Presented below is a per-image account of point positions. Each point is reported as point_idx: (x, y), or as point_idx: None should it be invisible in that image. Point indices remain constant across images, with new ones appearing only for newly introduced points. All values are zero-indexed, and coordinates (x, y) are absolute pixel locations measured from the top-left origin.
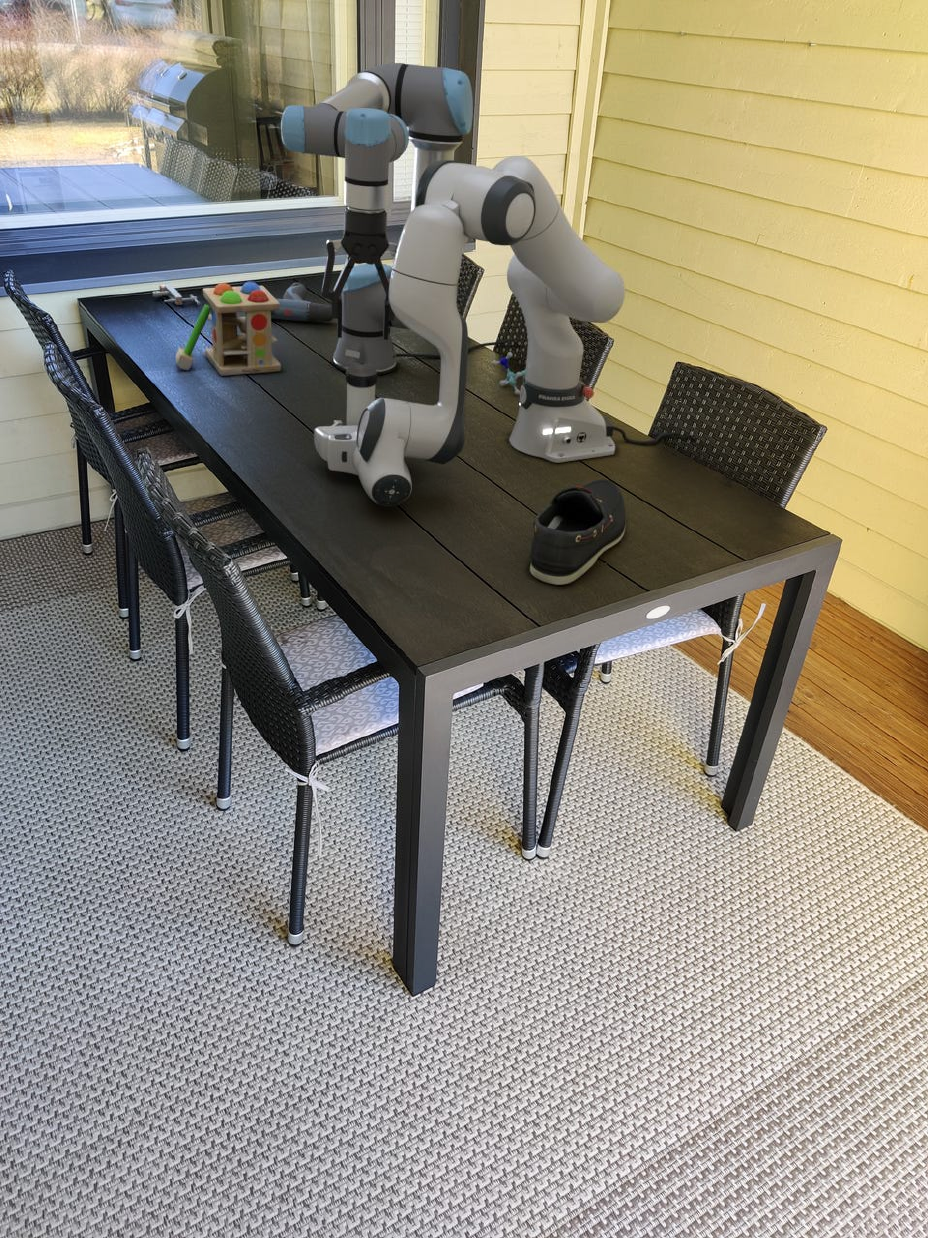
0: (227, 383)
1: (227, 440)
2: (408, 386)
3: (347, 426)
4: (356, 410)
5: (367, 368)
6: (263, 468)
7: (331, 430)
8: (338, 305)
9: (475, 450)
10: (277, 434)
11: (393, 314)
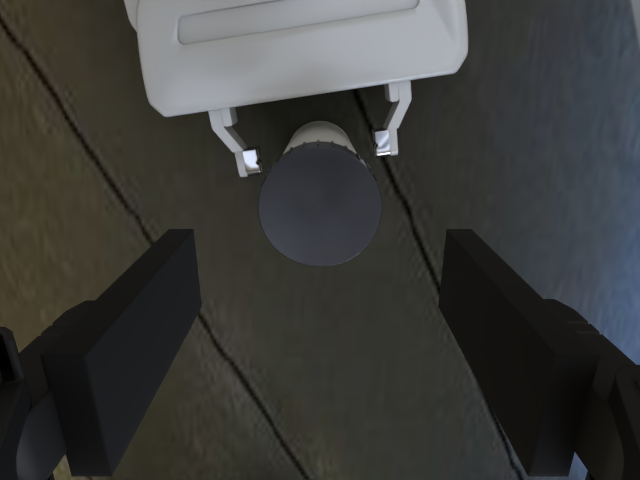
0: (575, 464)
1: (623, 196)
2: (206, 476)
3: (364, 70)
4: (335, 136)
5: (295, 239)
6: (564, 38)
7: (417, 36)
8: (579, 334)
9: (37, 173)
10: (504, 234)
11: (58, 326)
